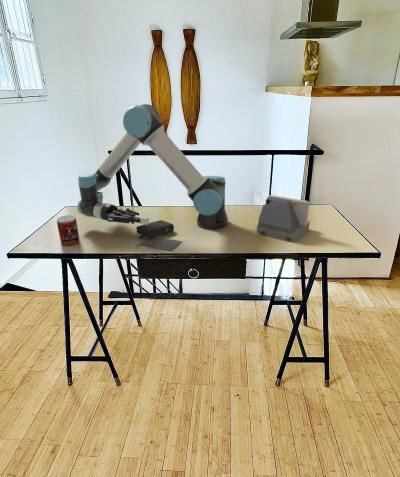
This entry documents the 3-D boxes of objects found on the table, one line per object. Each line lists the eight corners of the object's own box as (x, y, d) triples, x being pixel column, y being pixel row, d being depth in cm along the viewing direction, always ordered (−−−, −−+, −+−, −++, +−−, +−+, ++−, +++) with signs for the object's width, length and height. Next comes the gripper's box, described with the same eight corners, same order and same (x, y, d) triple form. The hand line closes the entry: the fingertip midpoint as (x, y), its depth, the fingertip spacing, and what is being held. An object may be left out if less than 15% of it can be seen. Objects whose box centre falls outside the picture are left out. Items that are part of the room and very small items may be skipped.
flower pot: (89, 206, 193) (87, 191, 190) (104, 207, 192) (102, 191, 189) (82, 211, 185) (80, 195, 182) (98, 212, 184) (96, 196, 181)
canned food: (62, 247, 144) (57, 223, 139) (59, 240, 150) (55, 217, 146) (81, 244, 147) (77, 219, 143) (77, 237, 154) (74, 214, 149)
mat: (181, 241, 148) (181, 241, 148) (171, 251, 139) (171, 250, 139) (149, 236, 153) (148, 235, 153) (137, 245, 145) (137, 244, 145)
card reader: (148, 240, 148) (174, 232, 159) (148, 231, 147) (174, 223, 157) (135, 234, 154) (161, 227, 164) (135, 225, 153) (161, 219, 163)
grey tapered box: (315, 231, 158) (319, 199, 152) (290, 245, 144) (294, 211, 138) (275, 220, 171) (277, 190, 165) (250, 231, 158) (251, 200, 152)
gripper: (117, 215, 161) (157, 224, 149) (96, 224, 151) (137, 235, 139) (115, 200, 158) (156, 208, 146) (94, 208, 148) (136, 217, 136)
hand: (147, 221), depth 143 cm, fingers closed
